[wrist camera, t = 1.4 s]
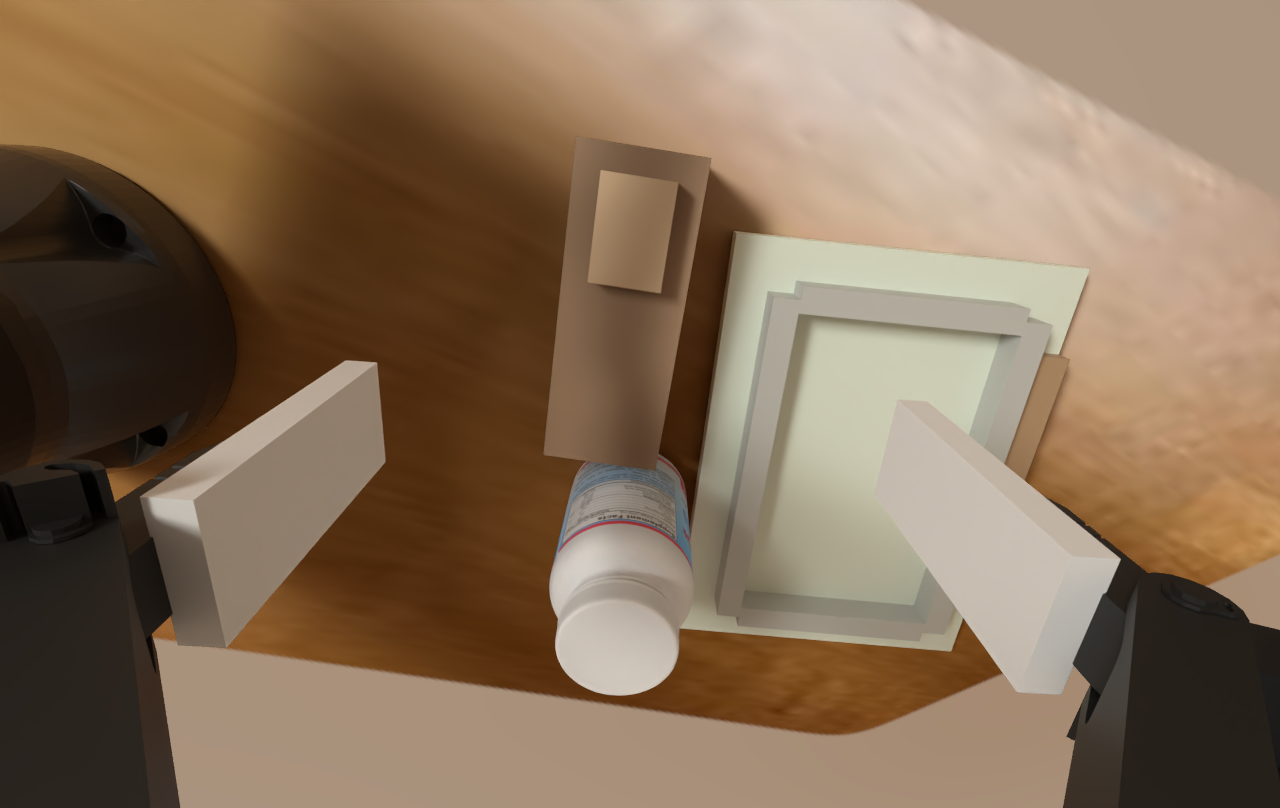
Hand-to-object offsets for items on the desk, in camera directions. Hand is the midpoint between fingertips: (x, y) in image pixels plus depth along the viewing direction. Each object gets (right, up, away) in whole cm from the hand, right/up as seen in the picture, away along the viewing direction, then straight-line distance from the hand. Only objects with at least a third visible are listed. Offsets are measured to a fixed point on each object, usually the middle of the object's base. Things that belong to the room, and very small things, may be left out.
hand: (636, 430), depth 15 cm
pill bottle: (0, -4, +17) cm, 18 cm away
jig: (+11, -2, +16) cm, 20 cm away
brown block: (-1, +6, +14) cm, 15 cm away
